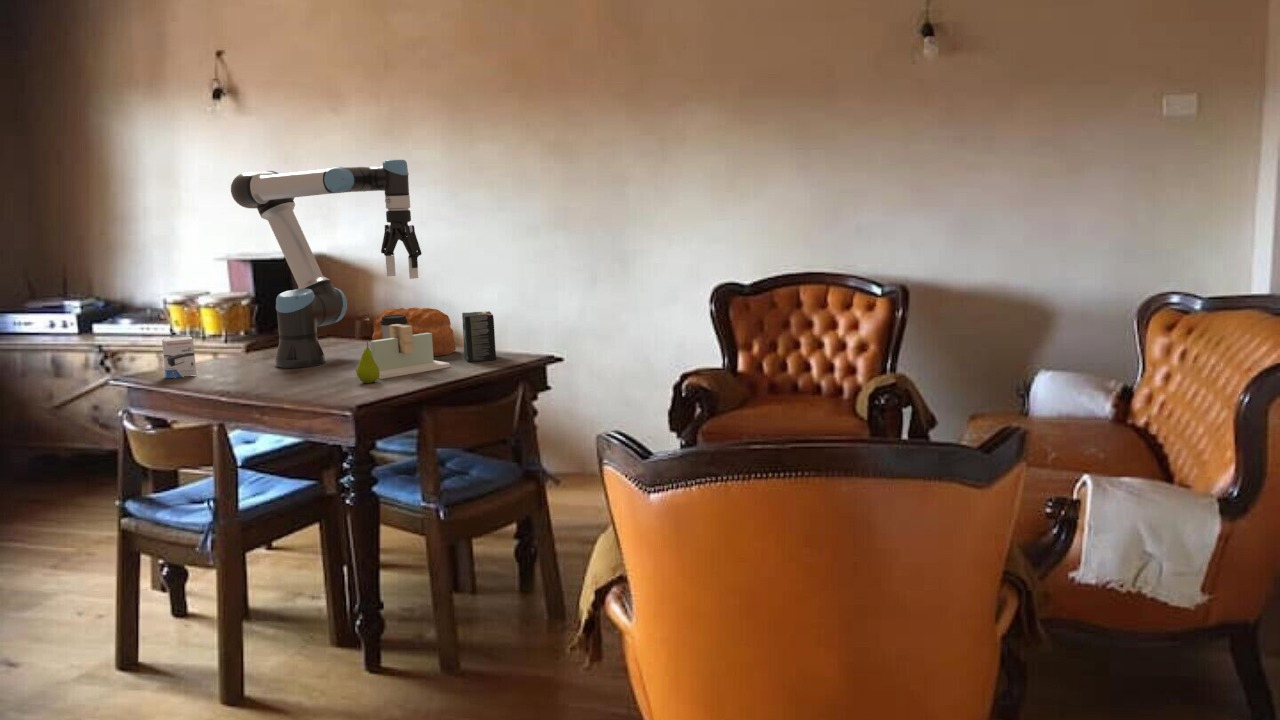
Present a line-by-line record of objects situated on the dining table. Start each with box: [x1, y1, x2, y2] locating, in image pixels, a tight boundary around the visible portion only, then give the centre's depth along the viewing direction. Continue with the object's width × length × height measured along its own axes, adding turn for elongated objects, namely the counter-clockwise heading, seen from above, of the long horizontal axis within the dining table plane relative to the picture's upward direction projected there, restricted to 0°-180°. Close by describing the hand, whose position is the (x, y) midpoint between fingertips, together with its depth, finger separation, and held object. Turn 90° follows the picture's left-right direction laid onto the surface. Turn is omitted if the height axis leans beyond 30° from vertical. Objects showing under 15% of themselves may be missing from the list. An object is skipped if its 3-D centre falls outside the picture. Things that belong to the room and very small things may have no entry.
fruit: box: [356, 340, 380, 384], centre depth 316 cm, size 6×6×12 cm
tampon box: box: [461, 311, 497, 363], centre depth 351 cm, size 11×9×15 cm
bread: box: [371, 307, 457, 357], centre depth 365 cm, size 14×26×16 cm, turn 75°
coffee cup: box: [381, 315, 408, 339], centre depth 346 cm, size 8×8×15 cm
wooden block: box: [389, 324, 414, 354], centre depth 333 cm, size 8×3×8 cm, turn 43°
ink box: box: [161, 336, 197, 379], centre depth 334 cm, size 8×5×12 cm, turn 117°
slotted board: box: [369, 333, 451, 380], centre depth 334 cm, size 14×24×10 cm, turn 134°
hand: (402, 277), depth 348 cm, fingers open, 13 cm apart
